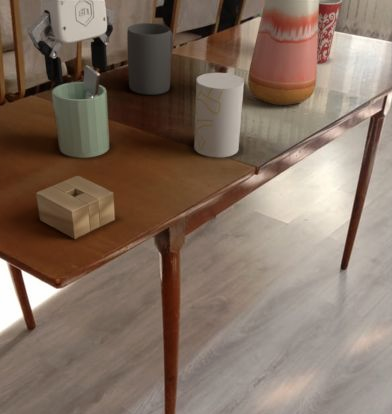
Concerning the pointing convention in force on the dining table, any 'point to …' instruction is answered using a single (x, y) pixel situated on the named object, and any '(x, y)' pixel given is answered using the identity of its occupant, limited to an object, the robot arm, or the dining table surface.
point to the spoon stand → (76, 206)
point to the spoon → (91, 82)
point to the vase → (285, 52)
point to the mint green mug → (81, 120)
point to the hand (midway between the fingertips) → (78, 74)
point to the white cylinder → (218, 114)
